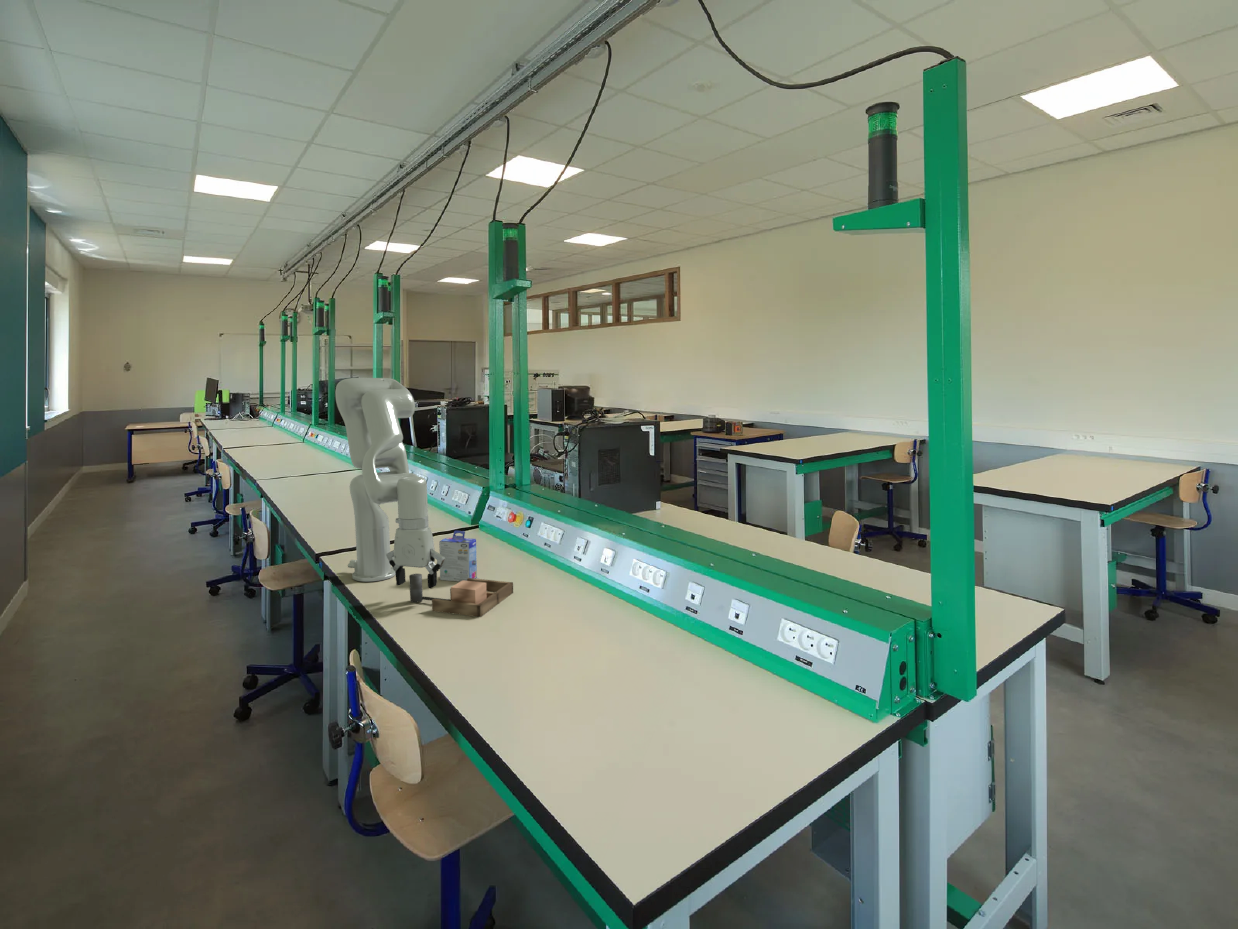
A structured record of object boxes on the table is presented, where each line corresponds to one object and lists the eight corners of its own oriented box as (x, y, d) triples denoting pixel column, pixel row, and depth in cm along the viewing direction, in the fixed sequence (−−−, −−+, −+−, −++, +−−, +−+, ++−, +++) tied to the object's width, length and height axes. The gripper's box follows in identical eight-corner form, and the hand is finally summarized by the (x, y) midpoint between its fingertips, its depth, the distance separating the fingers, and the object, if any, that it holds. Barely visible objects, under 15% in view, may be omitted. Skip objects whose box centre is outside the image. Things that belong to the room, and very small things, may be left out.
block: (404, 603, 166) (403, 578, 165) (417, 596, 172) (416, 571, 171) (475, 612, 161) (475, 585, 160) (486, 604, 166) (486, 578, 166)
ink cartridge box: (478, 577, 190) (476, 530, 188) (470, 583, 185) (469, 535, 183) (448, 575, 192) (446, 529, 190) (439, 580, 186) (437, 533, 184)
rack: (432, 611, 162) (431, 600, 162) (468, 587, 180) (468, 577, 180) (480, 617, 158) (480, 605, 158) (513, 592, 176) (513, 582, 176)
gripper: (376, 524, 165) (380, 587, 167) (434, 528, 160) (437, 592, 162) (394, 518, 172) (397, 578, 174) (450, 522, 167) (452, 584, 169)
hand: (416, 585), depth 168 cm, fingers open, 9 cm apart
